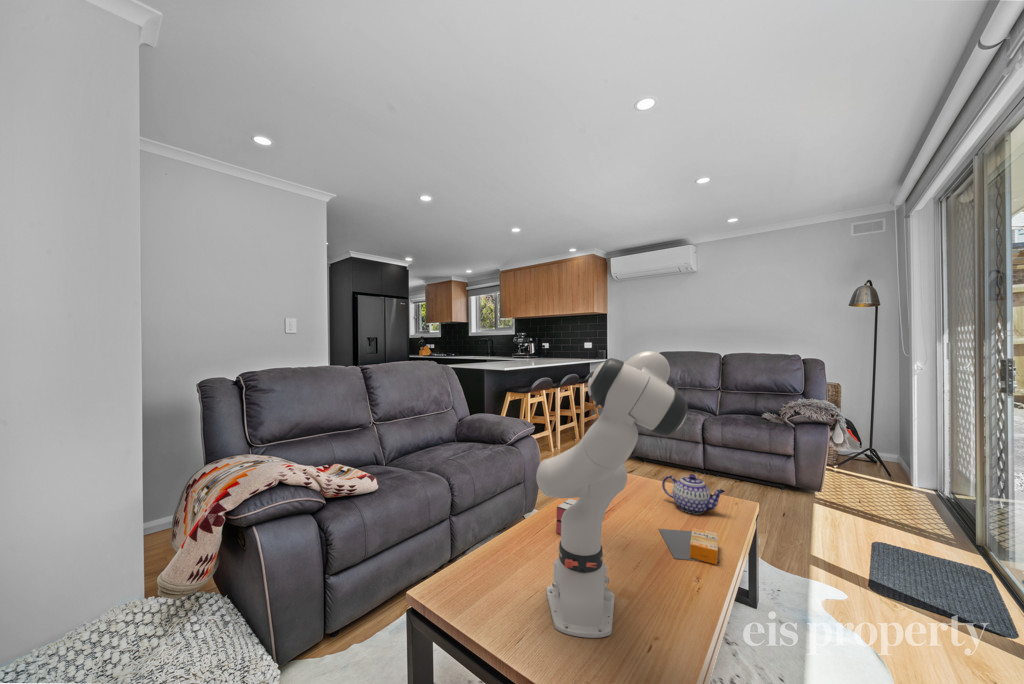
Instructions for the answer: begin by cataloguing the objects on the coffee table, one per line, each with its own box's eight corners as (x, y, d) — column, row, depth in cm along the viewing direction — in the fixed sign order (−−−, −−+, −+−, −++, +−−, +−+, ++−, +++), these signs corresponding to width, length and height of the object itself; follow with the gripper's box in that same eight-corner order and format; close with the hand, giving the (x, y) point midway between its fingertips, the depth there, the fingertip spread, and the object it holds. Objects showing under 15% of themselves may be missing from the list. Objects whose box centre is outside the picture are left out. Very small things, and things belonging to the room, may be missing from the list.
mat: (719, 562, 124) (719, 561, 124) (674, 559, 126) (674, 558, 126) (697, 532, 144) (697, 531, 144) (658, 529, 146) (658, 528, 146)
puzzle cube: (580, 542, 136) (580, 514, 136) (555, 533, 142) (556, 506, 142) (592, 531, 144) (593, 504, 144) (569, 523, 150) (569, 497, 150)
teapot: (655, 505, 168) (656, 471, 168) (669, 495, 179) (669, 463, 179) (718, 525, 150) (718, 487, 150) (729, 513, 161) (729, 477, 161)
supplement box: (689, 543, 126) (691, 526, 138) (689, 558, 126) (691, 540, 138) (718, 550, 122) (717, 532, 134) (717, 565, 122) (717, 546, 134)
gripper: (638, 414, 124) (637, 456, 124) (627, 403, 144) (626, 440, 144) (618, 413, 125) (618, 455, 125) (610, 403, 145) (609, 439, 145)
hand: (622, 447), depth 135 cm, fingers closed
